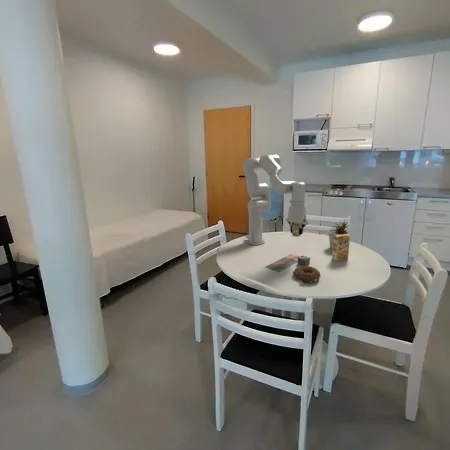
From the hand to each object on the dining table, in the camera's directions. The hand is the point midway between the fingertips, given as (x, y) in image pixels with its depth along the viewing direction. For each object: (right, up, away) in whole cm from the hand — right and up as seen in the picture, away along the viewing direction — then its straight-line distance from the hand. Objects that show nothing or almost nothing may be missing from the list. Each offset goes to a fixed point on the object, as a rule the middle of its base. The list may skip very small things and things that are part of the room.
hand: (296, 233), depth 177 cm
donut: (0, -24, -21) cm, 32 cm away
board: (-7, -18, -3) cm, 20 cm away
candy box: (+27, -16, +4) cm, 32 cm away
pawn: (0, -1, 0) cm, 1 cm away
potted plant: (+33, -11, +21) cm, 41 cm away
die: (+3, -19, -5) cm, 20 cm away
